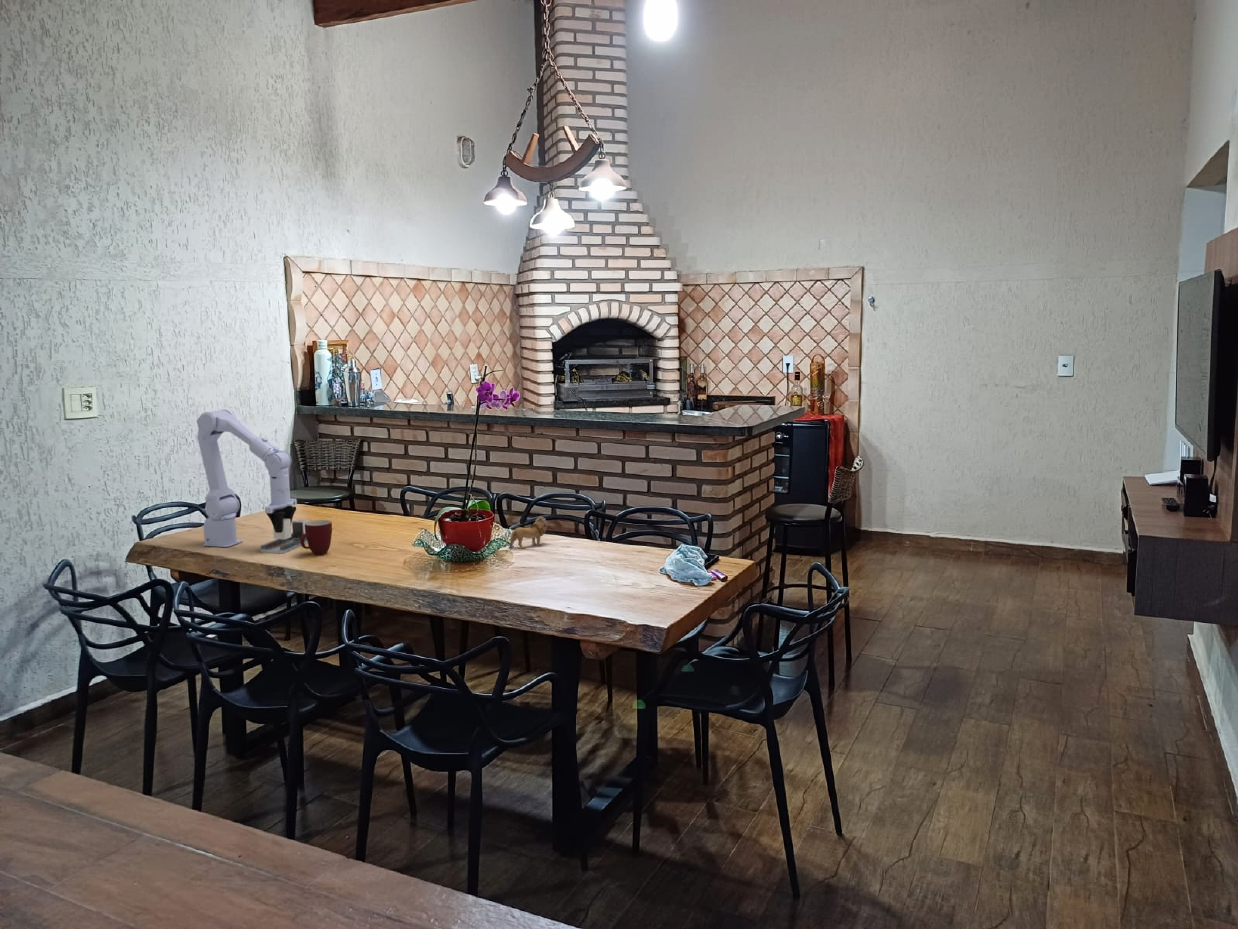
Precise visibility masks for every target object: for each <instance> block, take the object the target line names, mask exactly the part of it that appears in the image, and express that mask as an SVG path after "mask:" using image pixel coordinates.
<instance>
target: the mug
mask: <svg viewBox="0 0 1238 929" xmlns="http://www.w3.org/2000/svg"><path fill="white" fill-rule="evenodd" d="M332 533H333V524H332V521H331V520H328V519H318V520H317V519H316V520H309V522H306V523H305V534H303V535H302V537H301V540H300V543H301V546H300V547H301V548H303V549H306V550H310V552H311V553H312V554H313V555H314V556H323V555H326V554H327V553H328V551H329V550H330V547H331V542H332ZM305 538H307V542H308V543H307V545H308V546H307V545H306V544H304V540H305Z"/></svg>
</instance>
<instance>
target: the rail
mask: <svg viewBox="0 0 1238 929" xmlns="http://www.w3.org/2000/svg"><path fill="white" fill-rule="evenodd" d="M306 522H310V520H309V518H296V519H292V523H291V530H292V532H291V537H290V538H288V539H285V540H284V539H274V540H271V541H270V542H266V543H263V544H261V545H260V547H261V548H260V552H261V553H264V554H265V553H267V554H269V553H270V554H286V553H289V552H291V551H293V550H295V549H298V548H300V547H302V546H301V543H300V540H301V537H302V535H303V534H305V523H306ZM304 544H305V545H308V542H307V538H305V540H304Z"/></svg>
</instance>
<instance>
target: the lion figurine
mask: <svg viewBox="0 0 1238 929" xmlns="http://www.w3.org/2000/svg"><path fill="white" fill-rule="evenodd" d="M534 521H535V522H533V524H532V525H531V526H530V527H516V528H514V529H513V531H512V533H511V536H510V537H511V538H510V542H509V546H508V549H510V550H511V549H514V547H515V546H514V545H513V544H514V542H516V541H518V542H517V544H518V546H519V547H520V549H521V550H524V549H525V550H526V546H523V544H522V543H523V540H524V538H525V539H526V540H527V539H531V544H532V546H537V547H542V544H541V537H543V536H544V535H545V533H546V530H547V526H548V523H547V520H546V518H545V517H542V516H540V517H538V518H536V519H535V520H534Z"/></svg>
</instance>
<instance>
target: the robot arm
mask: <svg viewBox="0 0 1238 929" xmlns="http://www.w3.org/2000/svg"><path fill="white" fill-rule="evenodd" d="M196 424H197V428H198V429H197V441H198V447H199V450H200V451H199V452H200V453H201V458H202V463H203V467H204V471H205V476H206V480H207V484H208V488H209V491H208V493H207V494H206V496H205V497H204V499H205V506H204V509H205V513H206V515H207V518H206V519H205V520H204V523H203V537H204V543H203V546H205V547H220V548H229V547H233V546H234V545H238V544H239V543H242V542H244V540H243V539H238V538H237V537H238V536H237V535H238V534H237V524H236V523H237V522H236V520H237V519H236V516H237V513H238V512H239V510H240V506H241V505H240V501H239V499H238V498H237V495H236V494H235V491H234V490H233V489H232V488H230V487H229V486H228V482H227V477H226V473H225V469H224V465H223V460H222V456H221V452H220V447H219V443H218V440H219V439H220V437H221V436H222V434H224V433H225V432H227V433H231V434H232V435H234V436H235V437H236V438H238V439H239V440H241V441H242V442H244V443H245V444H247V445H248V448H249V452H251V453H252V454H253V455H254V456H256V457H257V458H258V459H260V460H261V461H262V462H264V467H265V468H266V470H267V471H268V476H269V484H270V485H269V486H270V500H271V502H270V503H269V504H268V505H267V506H265V507H264V512H265V514H266V515H267V517H268V518H269V520H270V522H271V523H272V526H273V527H274V530H275V532H276V533H281V532H282V530H283V519H290V522H291V524H292V521H293V518H294V514H295V513H296V511H297V506H295V505H297V504H298V501H297V498H291V493H290V491H291V490H290V489H291V488H290V478H289V477H290V475H289V474H290V473H289V467H291V465H292V461H293V460H292V456H291V455H290V454H289V452H288V451H286V450H280V449H279V448H278V447H276V446H275V445H273V444H272V443H271V442H269V439H268V438H267V437H263V436H256V434H254V433H252V432H251V431H250V429H248V428H247V427H246V426H245V425H243V423H242V422H240V420H238V418H237V416H236V415H235V414H233V413H232V412H231V411H230V410H228V409H221V410H216V411H206V412H205V411H204V412H202V413H201V414H200V415H199V416H198V418H197V419H196Z"/></svg>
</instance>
